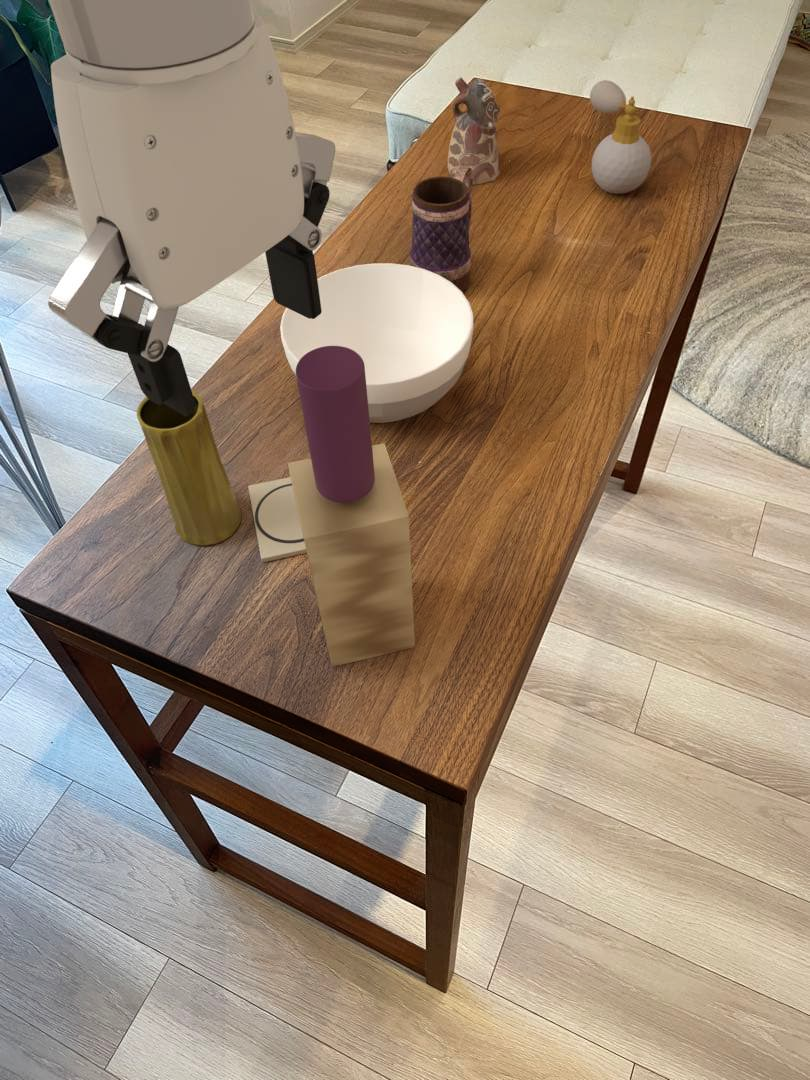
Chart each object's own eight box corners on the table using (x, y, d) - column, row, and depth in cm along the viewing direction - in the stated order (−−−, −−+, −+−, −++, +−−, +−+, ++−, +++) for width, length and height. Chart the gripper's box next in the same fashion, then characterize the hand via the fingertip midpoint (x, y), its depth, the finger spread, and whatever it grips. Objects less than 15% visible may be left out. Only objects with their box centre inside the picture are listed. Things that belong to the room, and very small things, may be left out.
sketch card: (262, 562, 74) (260, 558, 73) (249, 489, 79) (247, 484, 79) (382, 536, 75) (381, 532, 75) (361, 466, 81) (360, 461, 80)
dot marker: (322, 516, 55) (301, 396, 47) (312, 473, 57) (290, 352, 49) (381, 504, 55) (371, 383, 47) (368, 461, 58) (356, 339, 49)
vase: (236, 546, 75) (200, 434, 64) (170, 547, 75) (122, 435, 64) (246, 495, 79) (213, 381, 68) (182, 496, 79) (139, 382, 68)
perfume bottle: (632, 209, 107) (651, 114, 97) (563, 190, 110) (574, 96, 101) (654, 181, 111) (673, 87, 101) (586, 164, 114) (599, 72, 104)
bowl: (256, 412, 86) (240, 345, 79) (354, 312, 96) (347, 244, 89) (414, 477, 80) (411, 410, 73) (502, 363, 89) (507, 294, 82)
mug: (451, 307, 96) (452, 211, 86) (399, 289, 98) (394, 193, 88) (493, 262, 101) (499, 166, 91) (442, 246, 103) (443, 151, 94)
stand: (331, 667, 67) (304, 538, 54) (316, 598, 72) (287, 462, 58) (415, 647, 68) (409, 516, 55) (395, 580, 72) (384, 442, 59)
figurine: (488, 189, 111) (492, 96, 101) (439, 179, 113) (439, 87, 103) (507, 163, 115) (512, 72, 105) (459, 154, 117) (460, 63, 107)
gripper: (243, -79, 38) (294, 255, 51) (-102, 61, 29) (68, 414, 43) (371, -47, 35) (390, 299, 48) (27, 118, 26) (166, 478, 40)
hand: (238, 353), depth 46 cm, fingers open, 9 cm apart
